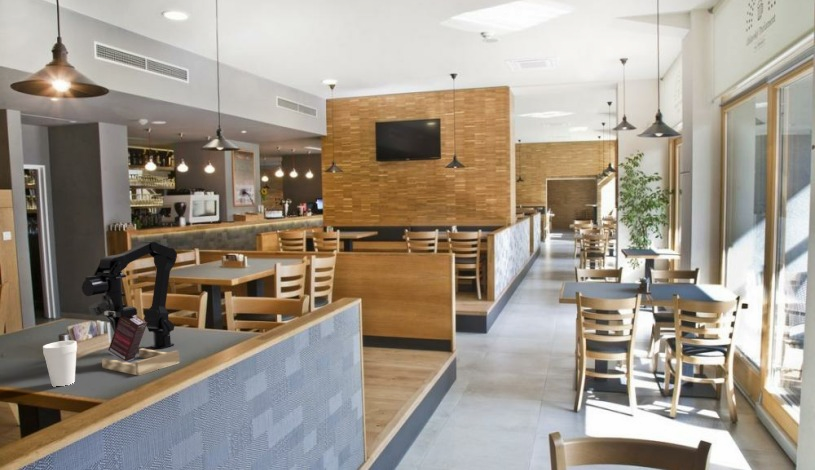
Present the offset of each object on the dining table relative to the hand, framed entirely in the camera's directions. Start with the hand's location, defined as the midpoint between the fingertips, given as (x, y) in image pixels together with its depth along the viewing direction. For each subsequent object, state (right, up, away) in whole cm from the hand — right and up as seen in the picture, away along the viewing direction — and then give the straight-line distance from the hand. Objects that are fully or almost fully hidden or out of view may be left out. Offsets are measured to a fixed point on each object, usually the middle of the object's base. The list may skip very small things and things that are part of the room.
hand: (116, 333), depth 209 cm
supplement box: (+1, -8, 0) cm, 8 cm away
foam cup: (-5, -12, -24) cm, 28 cm away
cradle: (+11, -10, -6) cm, 16 cm away
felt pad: (+12, -10, -7) cm, 17 cm away
